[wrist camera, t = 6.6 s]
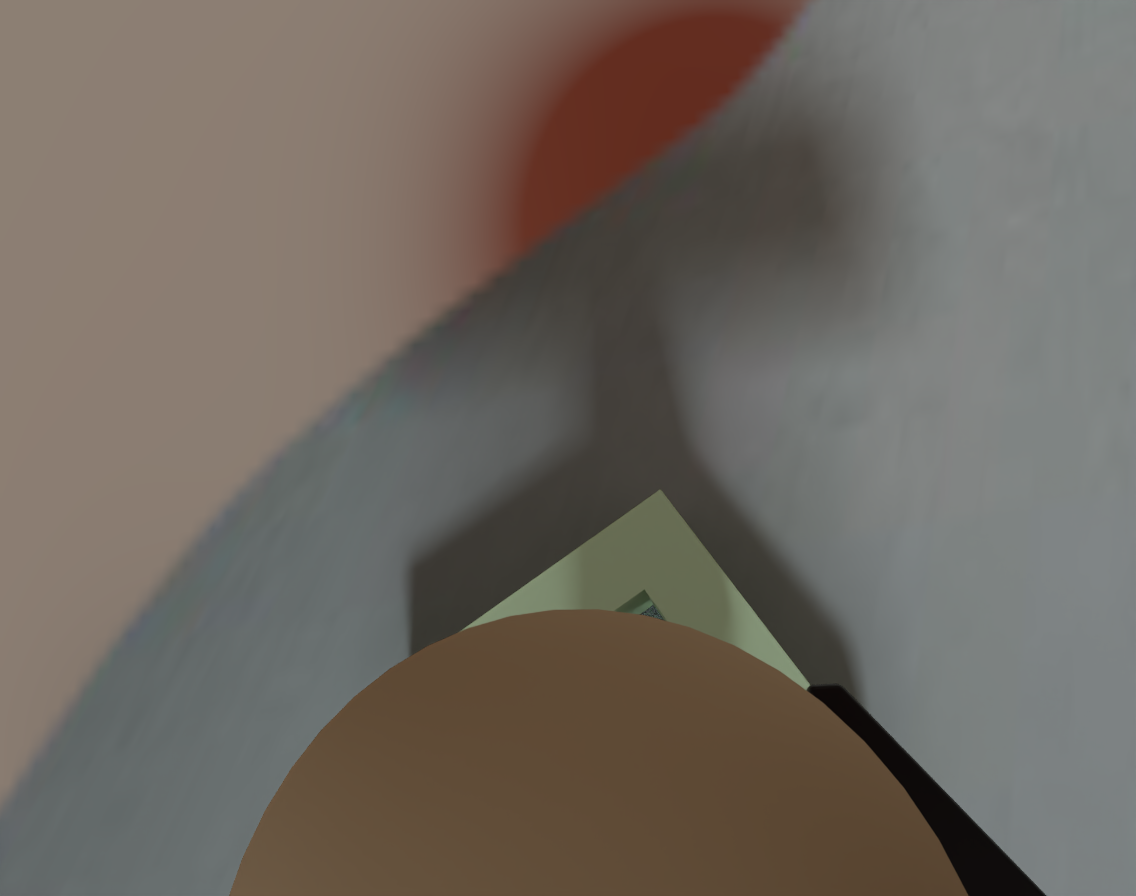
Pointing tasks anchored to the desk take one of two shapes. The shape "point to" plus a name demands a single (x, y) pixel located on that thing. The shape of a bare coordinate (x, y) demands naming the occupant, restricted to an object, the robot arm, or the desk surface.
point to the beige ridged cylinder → (590, 778)
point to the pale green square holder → (650, 583)
